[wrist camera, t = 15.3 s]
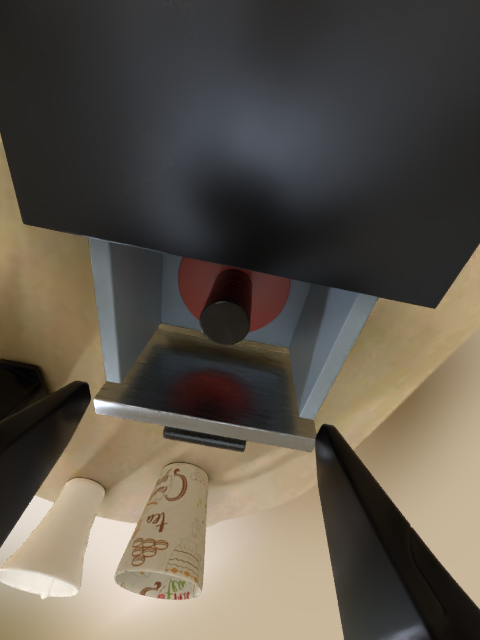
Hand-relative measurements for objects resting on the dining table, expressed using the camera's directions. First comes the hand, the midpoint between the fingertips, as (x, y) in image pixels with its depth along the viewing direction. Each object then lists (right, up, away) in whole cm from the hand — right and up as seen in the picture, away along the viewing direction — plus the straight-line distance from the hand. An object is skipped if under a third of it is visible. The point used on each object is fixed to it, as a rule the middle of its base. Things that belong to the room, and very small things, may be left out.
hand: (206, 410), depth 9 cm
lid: (+1, +6, +6) cm, 9 cm away
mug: (-5, -18, +24) cm, 30 cm away
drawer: (+1, +4, +9) cm, 10 cm away
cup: (-20, -21, +26) cm, 39 cm away
